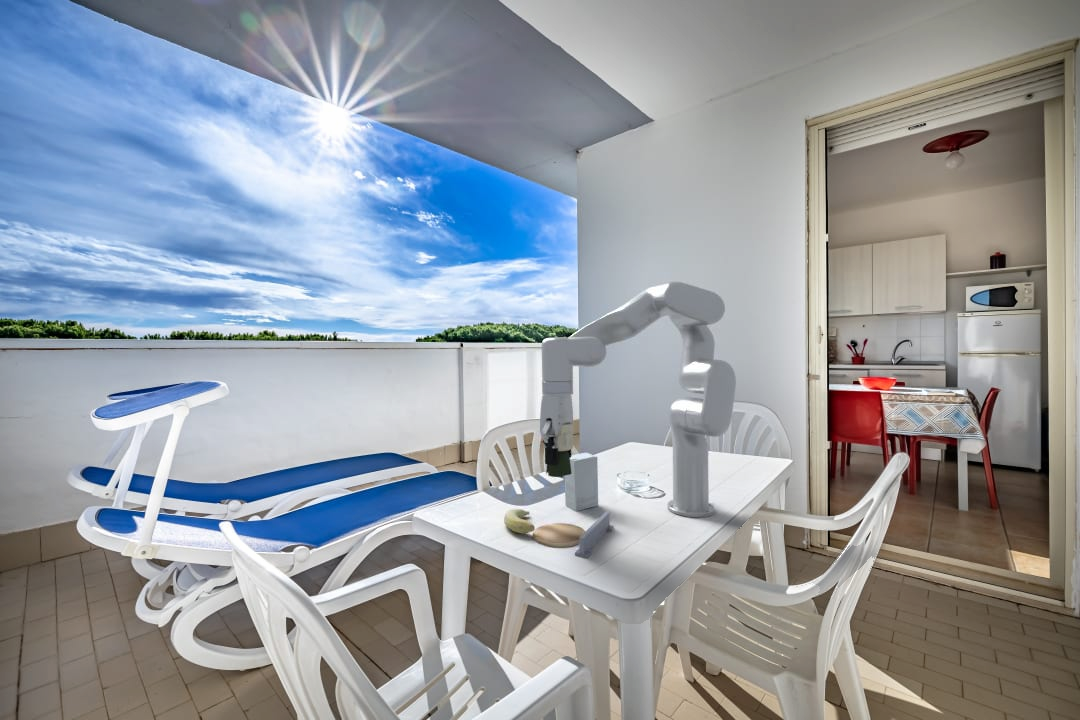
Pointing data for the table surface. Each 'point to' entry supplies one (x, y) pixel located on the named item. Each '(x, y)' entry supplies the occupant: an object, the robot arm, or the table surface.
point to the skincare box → (582, 482)
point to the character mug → (562, 452)
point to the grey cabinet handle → (593, 535)
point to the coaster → (558, 535)
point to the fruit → (518, 521)
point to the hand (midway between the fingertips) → (558, 460)
